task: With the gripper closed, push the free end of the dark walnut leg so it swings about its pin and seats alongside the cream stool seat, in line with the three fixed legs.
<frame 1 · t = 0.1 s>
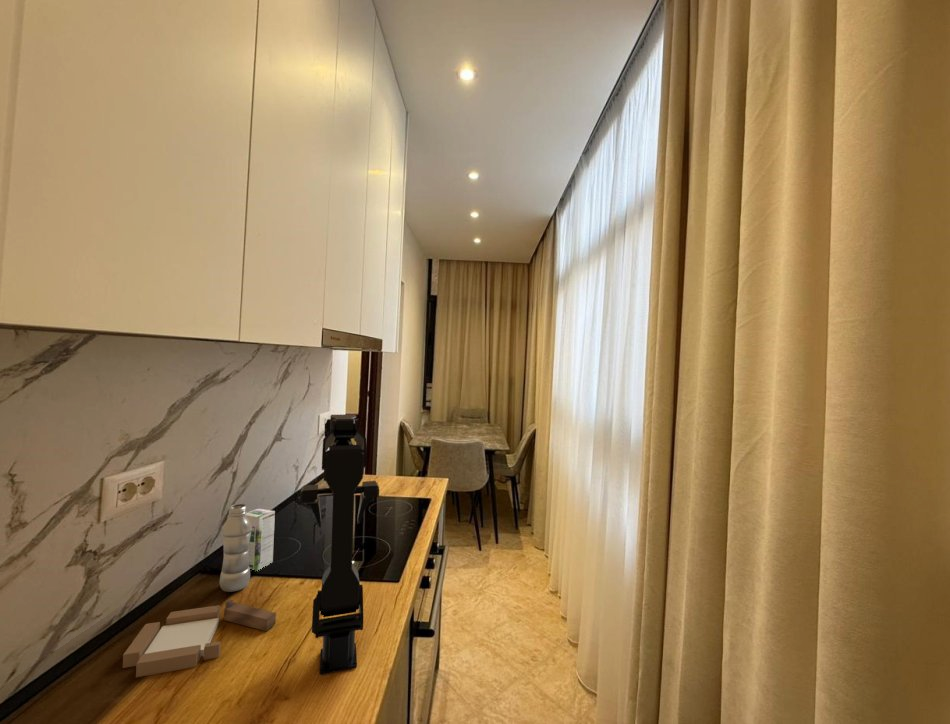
hand: (339, 525, 103), 15 cm above the worktop, tool pointing down, fingers open, 9 cm apart
syrup box: (257, 566, 110), on the worktop
plastic bottle: (234, 589, 99), on the worktop
leg: (248, 615, 86), point 2 cm above the worktop, hinge at 55.0°
seat: (182, 643, 79), on the worktop
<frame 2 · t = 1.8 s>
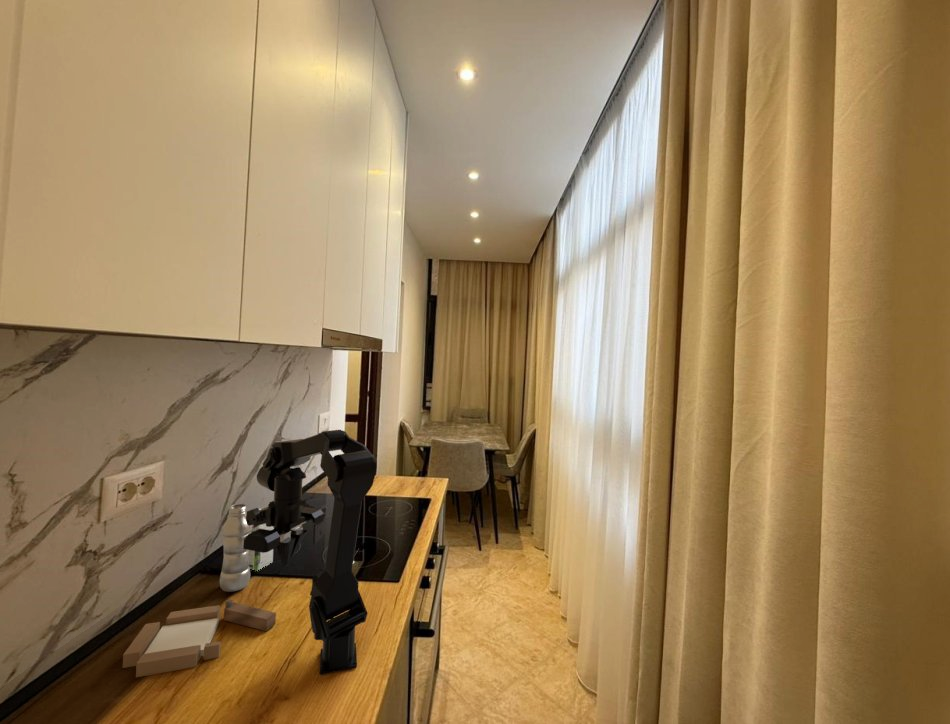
hand: (285, 565, 91), 10 cm above the worktop, tool pointing down, fingers closed
nothing on the worktop moved.
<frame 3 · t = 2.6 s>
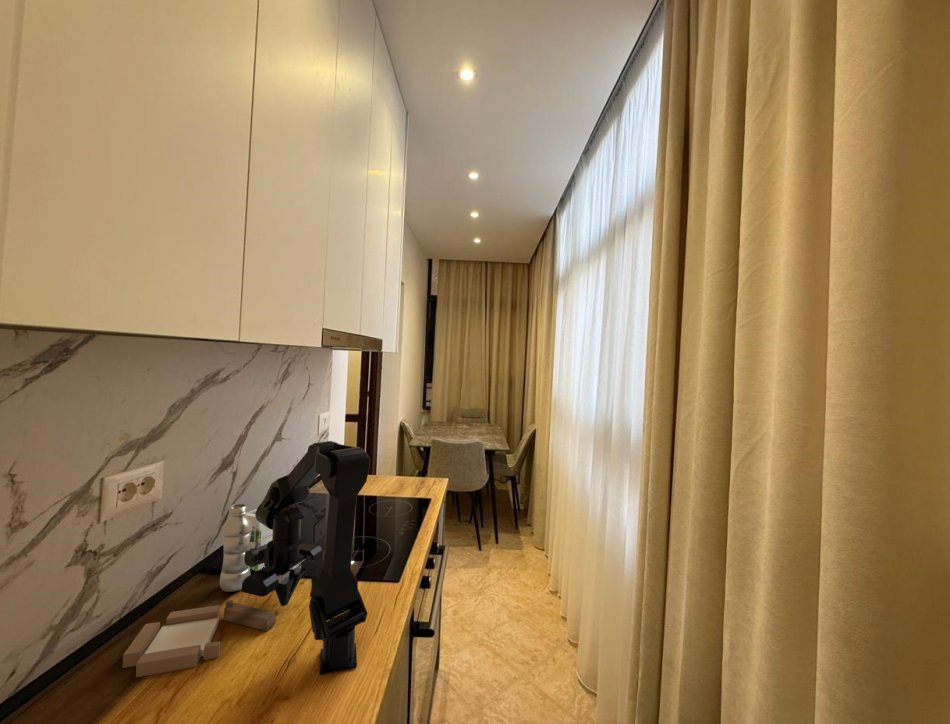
hand: (284, 605, 91), 1 cm above the worktop, tool pointing down, fingers closed
nothing on the worktop moved.
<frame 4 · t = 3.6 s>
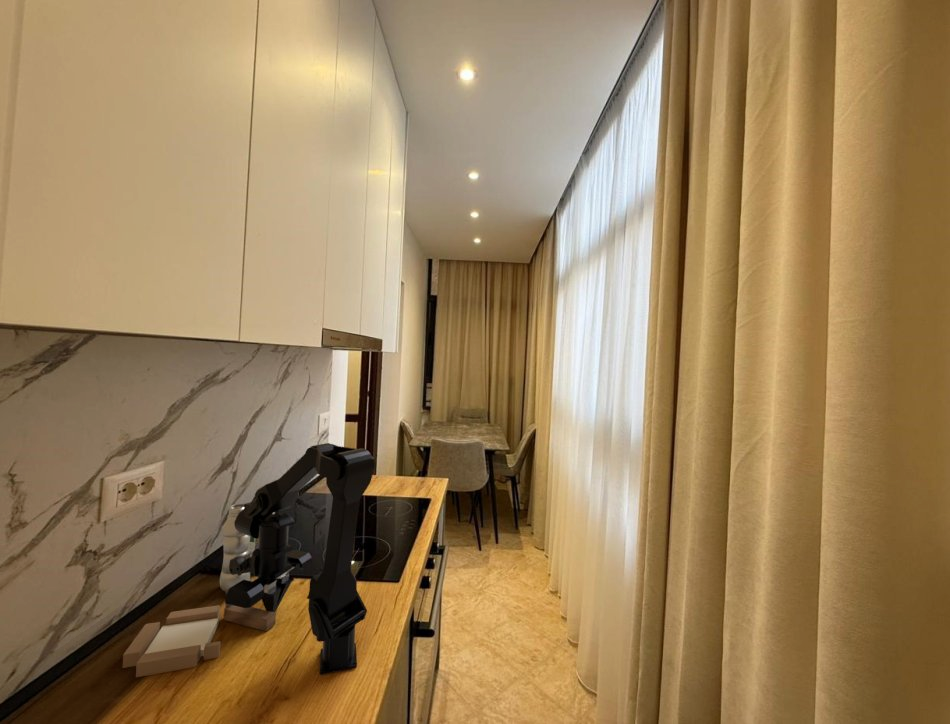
hand: (271, 615, 87), 1 cm above the worktop, tool pointing down, fingers closed
leg: (248, 615, 86), point 2 cm above the worktop, hinge at 54.9°, touching gripper
everything else where it was.
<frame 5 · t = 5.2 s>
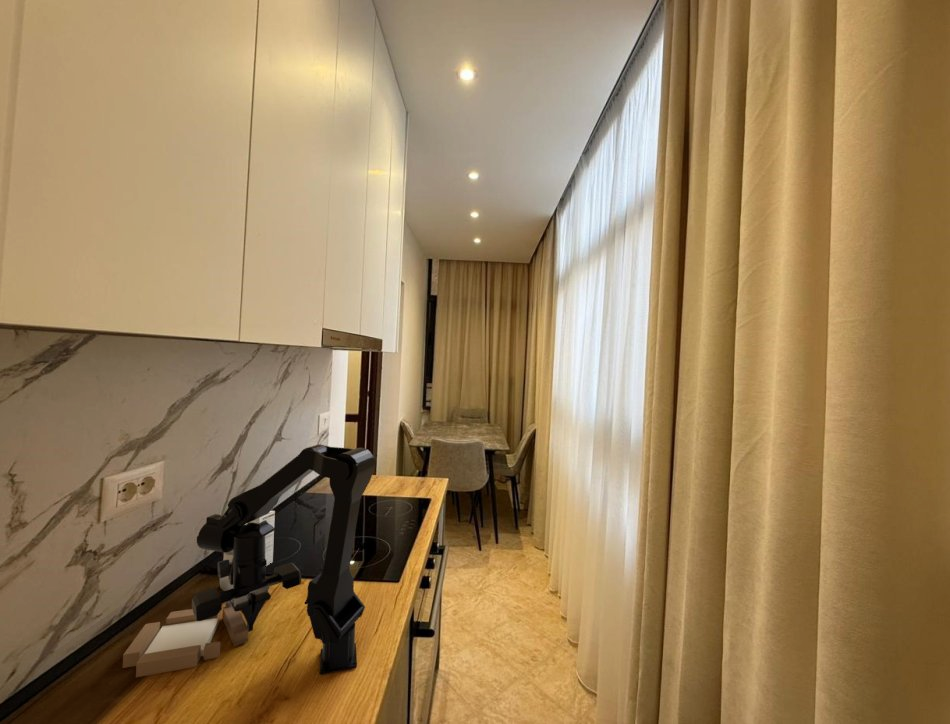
hand: (249, 630, 82), 1 cm above the worktop, tool pointing down, fingers closed
leg: (234, 622, 84), point 2 cm above the worktop, hinge at 23.4°, touching gripper
everything else where it was.
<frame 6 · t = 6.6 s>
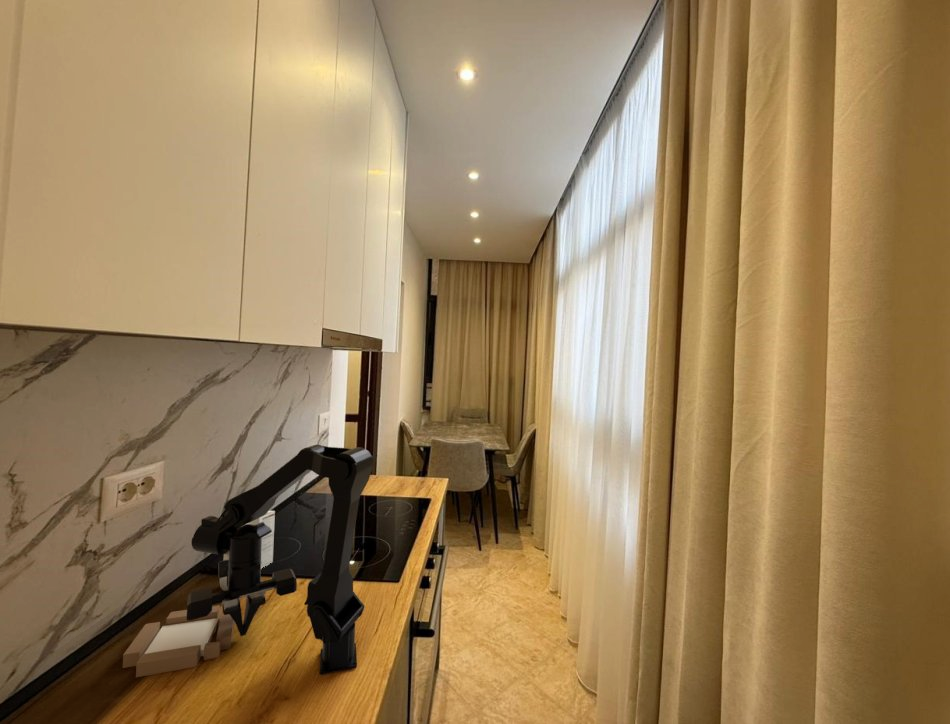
hand: (242, 634, 81), 1 cm above the worktop, tool pointing down, fingers closed
leg: (226, 624, 83), point 2 cm above the worktop, hinge at 7.9°
everything else where it was.
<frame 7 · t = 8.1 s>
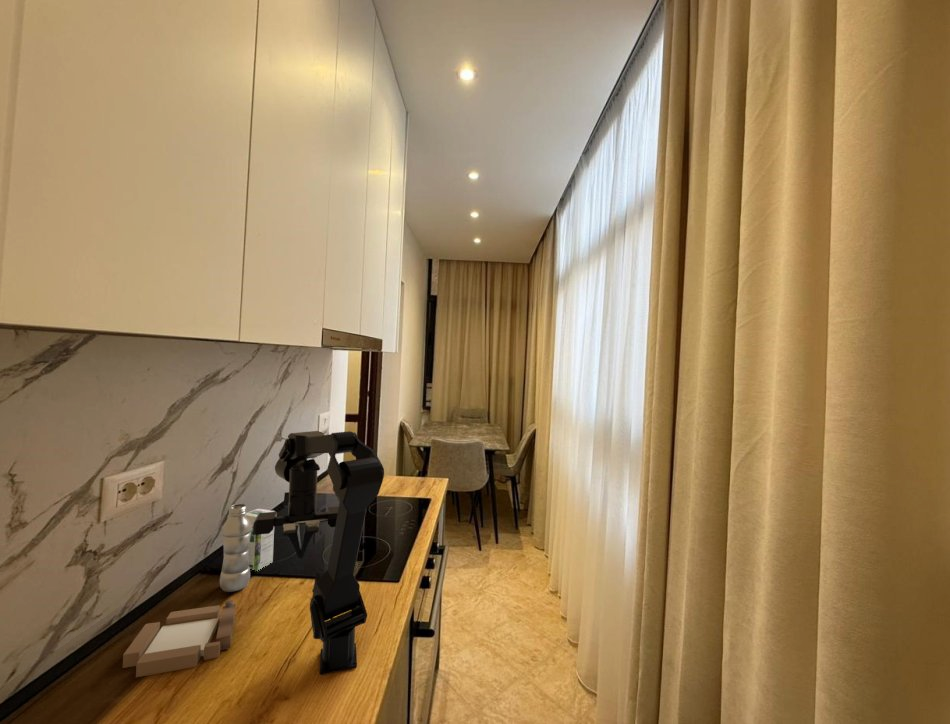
hand: (300, 557, 91), 12 cm above the worktop, tool pointing down, fingers closed
nothing on the worktop moved.
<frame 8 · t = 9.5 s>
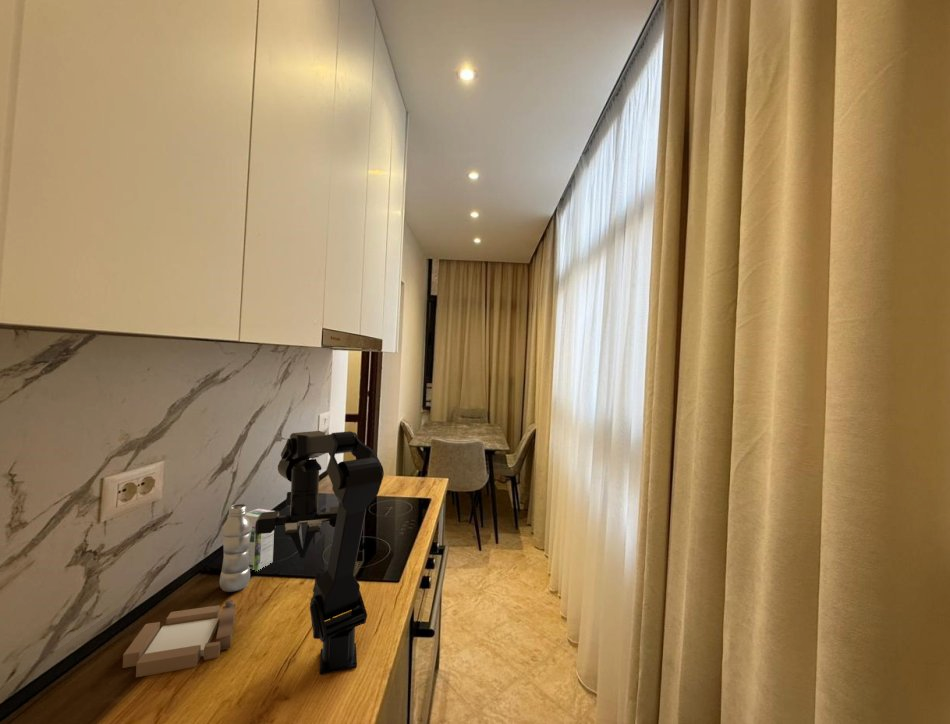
hand: (302, 557, 91), 12 cm above the worktop, tool pointing down, fingers closed
nothing on the worktop moved.
at the end: leg at +8° (first picture: +55°); leg touching nothing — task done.
